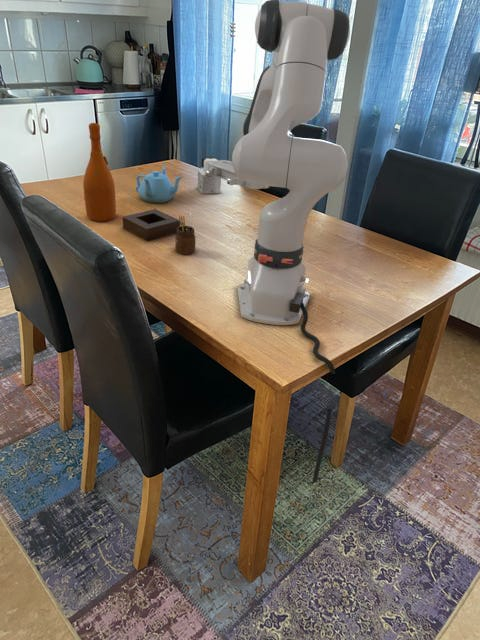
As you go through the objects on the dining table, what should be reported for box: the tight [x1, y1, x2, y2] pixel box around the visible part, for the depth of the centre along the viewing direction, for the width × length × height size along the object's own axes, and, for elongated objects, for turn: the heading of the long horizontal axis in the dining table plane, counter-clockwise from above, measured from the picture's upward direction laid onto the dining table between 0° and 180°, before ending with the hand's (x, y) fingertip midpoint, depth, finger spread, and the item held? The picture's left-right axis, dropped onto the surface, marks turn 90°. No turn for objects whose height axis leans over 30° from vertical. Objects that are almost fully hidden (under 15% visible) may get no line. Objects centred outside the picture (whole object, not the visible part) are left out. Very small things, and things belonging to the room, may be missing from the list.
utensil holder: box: [174, 213, 196, 255], centre depth 143 cm, size 6×6×12 cm
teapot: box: [135, 165, 183, 204], centre depth 183 cm, size 15×15×10 cm
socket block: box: [122, 208, 181, 242], centre depth 157 cm, size 13×13×4 cm
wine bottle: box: [82, 122, 117, 222], centre depth 157 cm, size 10×10×30 cm
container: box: [197, 156, 222, 194], centre depth 195 cm, size 8×8×13 cm
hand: (217, 177), depth 143 cm, fingers open, 8 cm apart
